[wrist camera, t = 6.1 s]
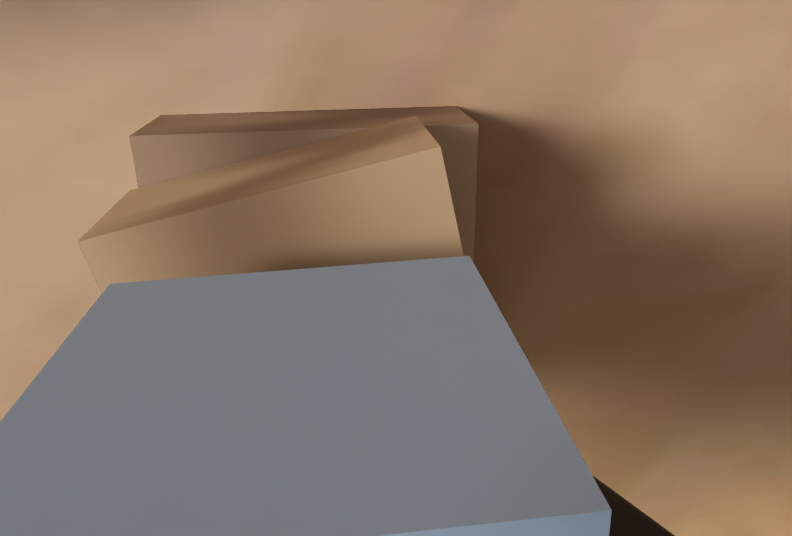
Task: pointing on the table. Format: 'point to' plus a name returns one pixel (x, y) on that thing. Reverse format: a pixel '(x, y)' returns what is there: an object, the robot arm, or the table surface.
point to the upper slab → (286, 212)
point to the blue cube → (295, 414)
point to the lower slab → (276, 131)
